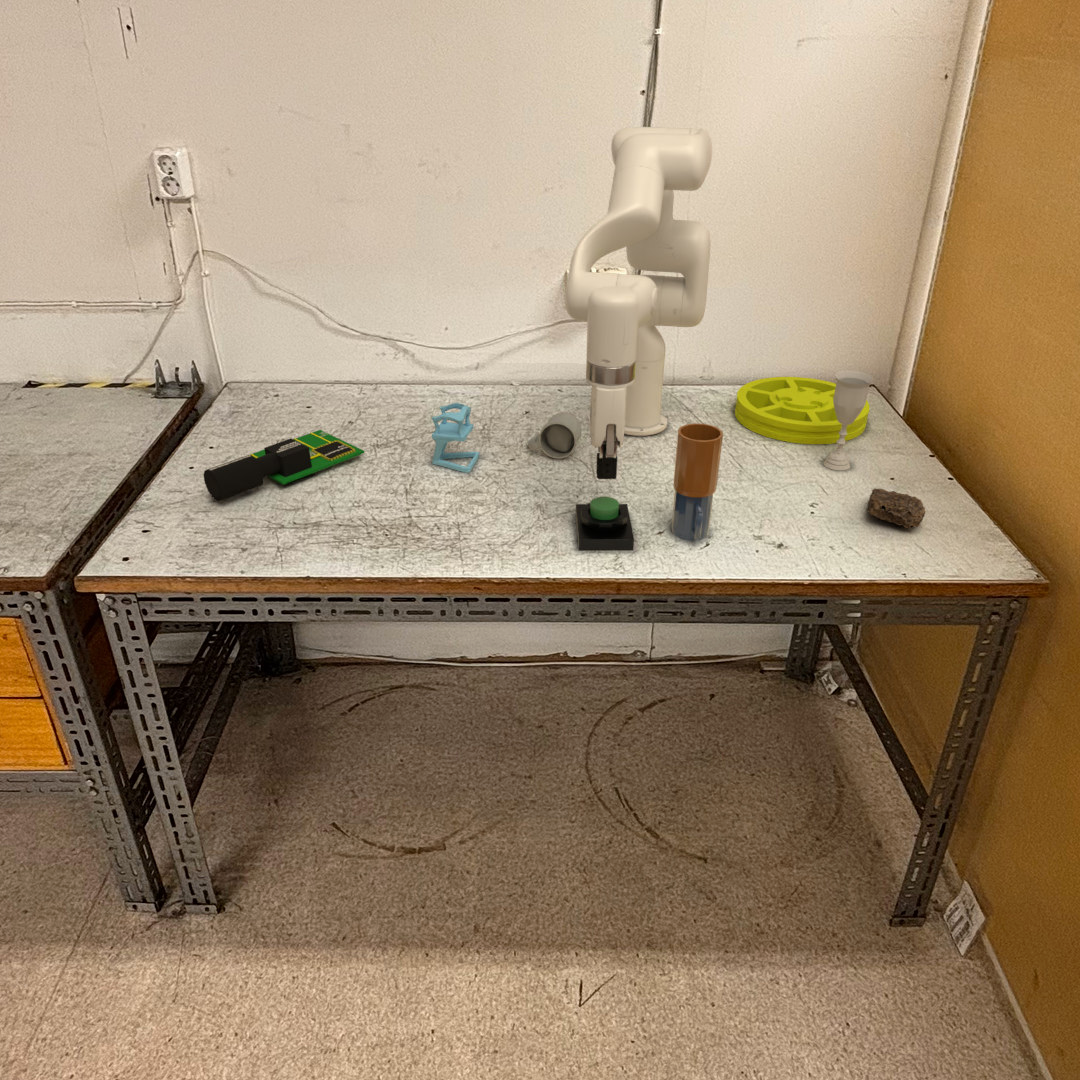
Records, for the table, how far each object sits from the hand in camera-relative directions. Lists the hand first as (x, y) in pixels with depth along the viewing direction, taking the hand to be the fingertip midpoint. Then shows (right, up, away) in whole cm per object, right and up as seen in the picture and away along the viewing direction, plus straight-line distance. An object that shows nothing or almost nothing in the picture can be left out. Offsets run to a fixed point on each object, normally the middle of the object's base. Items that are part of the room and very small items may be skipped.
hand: (606, 476), depth 142 cm
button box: (0, -9, +5) cm, 10 cm away
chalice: (+47, +4, +27) cm, 55 cm away
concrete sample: (+51, -7, +9) cm, 52 cm away
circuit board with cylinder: (-61, +3, +25) cm, 66 cm away
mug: (+15, -10, +4) cm, 18 cm away
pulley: (+46, +16, +47) cm, 68 cm away
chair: (-28, +5, +28) cm, 40 cm away
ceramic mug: (-8, +7, +33) cm, 35 cm away
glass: (+15, -2, +1) cm, 15 cm away
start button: (0, -6, +3) cm, 7 cm away
